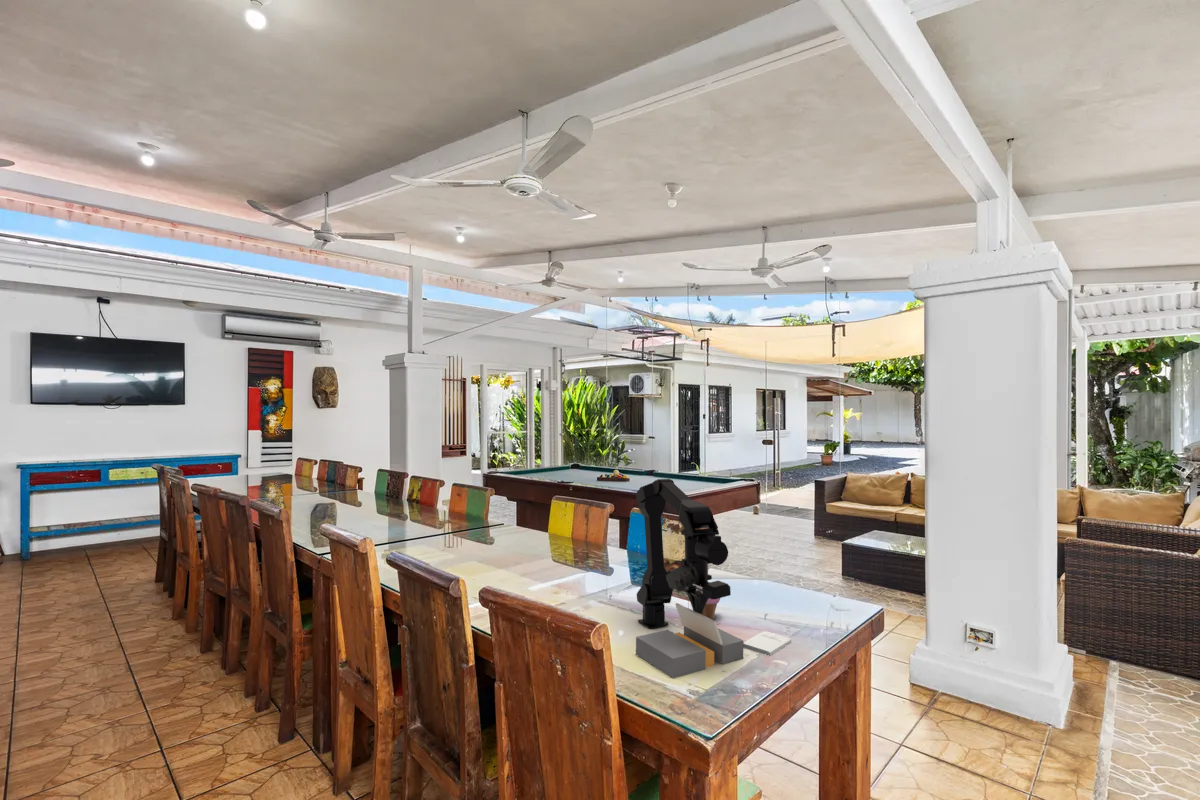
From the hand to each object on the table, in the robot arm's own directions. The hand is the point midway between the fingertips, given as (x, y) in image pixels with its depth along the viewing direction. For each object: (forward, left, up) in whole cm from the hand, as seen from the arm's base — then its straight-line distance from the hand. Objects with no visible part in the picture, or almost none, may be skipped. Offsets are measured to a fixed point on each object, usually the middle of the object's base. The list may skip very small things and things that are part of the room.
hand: (697, 616), depth 156 cm
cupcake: (-20, +20, -10) cm, 30 cm away
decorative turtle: (-51, +35, -10) cm, 62 cm away
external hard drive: (+4, +21, -11) cm, 24 cm away
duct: (0, -2, -10) cm, 10 cm away
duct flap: (0, 0, -2) cm, 2 cm away
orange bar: (0, -4, -8) cm, 9 cm away
